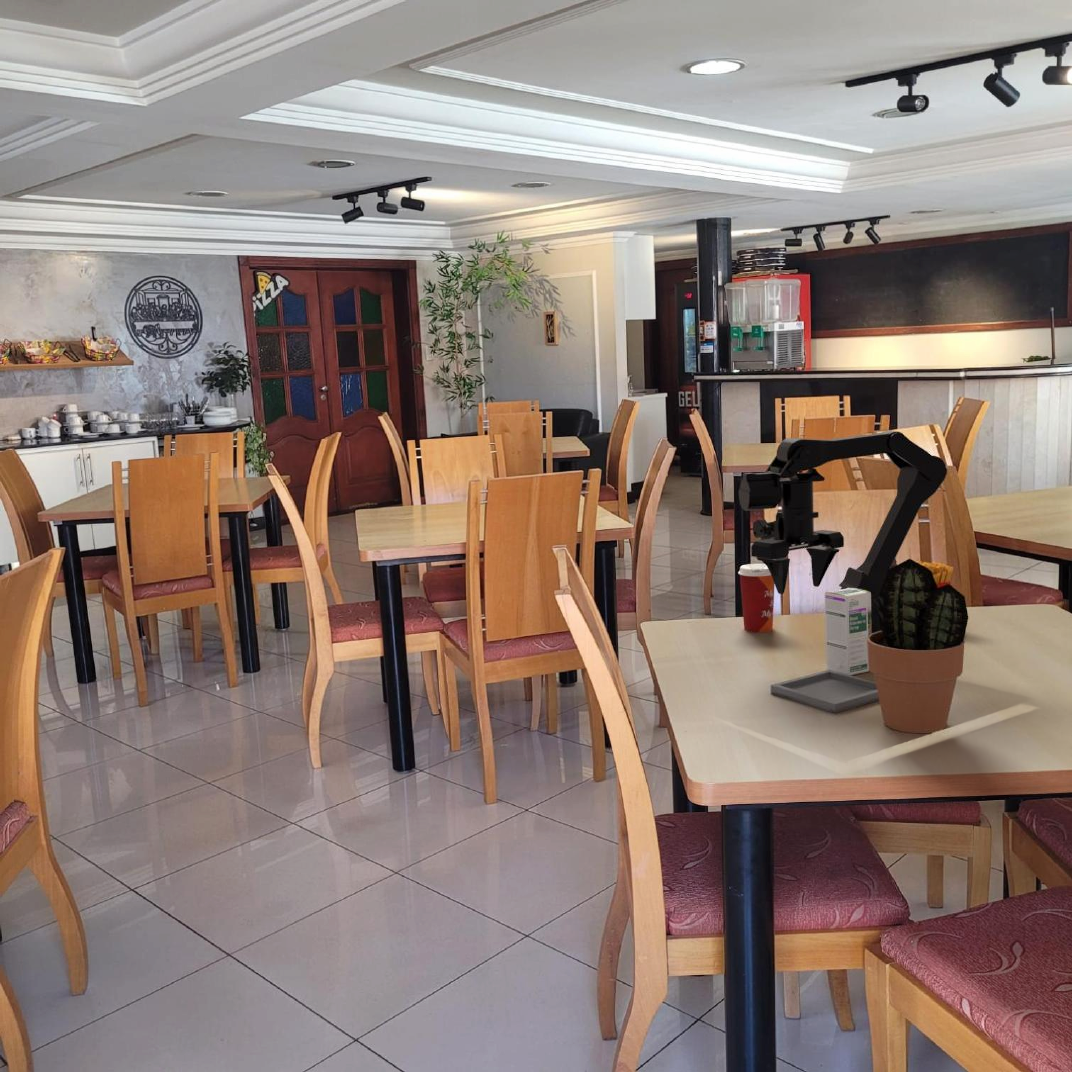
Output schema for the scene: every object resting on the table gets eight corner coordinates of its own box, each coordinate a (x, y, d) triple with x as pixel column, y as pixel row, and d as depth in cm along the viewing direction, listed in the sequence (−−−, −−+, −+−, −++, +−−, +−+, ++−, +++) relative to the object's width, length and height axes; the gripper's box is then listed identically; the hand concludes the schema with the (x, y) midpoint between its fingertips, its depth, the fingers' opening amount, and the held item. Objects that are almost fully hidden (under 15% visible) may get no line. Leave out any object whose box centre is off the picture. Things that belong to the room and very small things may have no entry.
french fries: (899, 622, 219) (904, 561, 217) (905, 618, 222) (910, 557, 220) (945, 630, 214) (951, 567, 211) (950, 625, 217) (956, 563, 215)
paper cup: (777, 637, 214) (776, 569, 212) (739, 637, 216) (737, 570, 214) (777, 628, 222) (775, 562, 220) (739, 628, 223) (738, 563, 221)
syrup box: (848, 677, 185) (848, 595, 182) (824, 669, 190) (824, 590, 188) (872, 671, 187) (872, 591, 185) (848, 664, 192) (848, 586, 190)
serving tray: (829, 677, 184) (829, 669, 184) (894, 695, 173) (894, 686, 172) (770, 693, 177) (770, 684, 177) (835, 713, 165) (835, 704, 165)
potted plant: (880, 740, 152) (880, 570, 149) (857, 711, 166) (856, 554, 162) (977, 737, 152) (979, 566, 148) (945, 708, 165) (946, 550, 162)
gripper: (800, 498, 206) (802, 577, 208) (729, 509, 196) (731, 591, 198) (845, 502, 196) (846, 585, 199) (772, 513, 187) (774, 600, 189)
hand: (798, 590), depth 196 cm, fingers open, 9 cm apart
